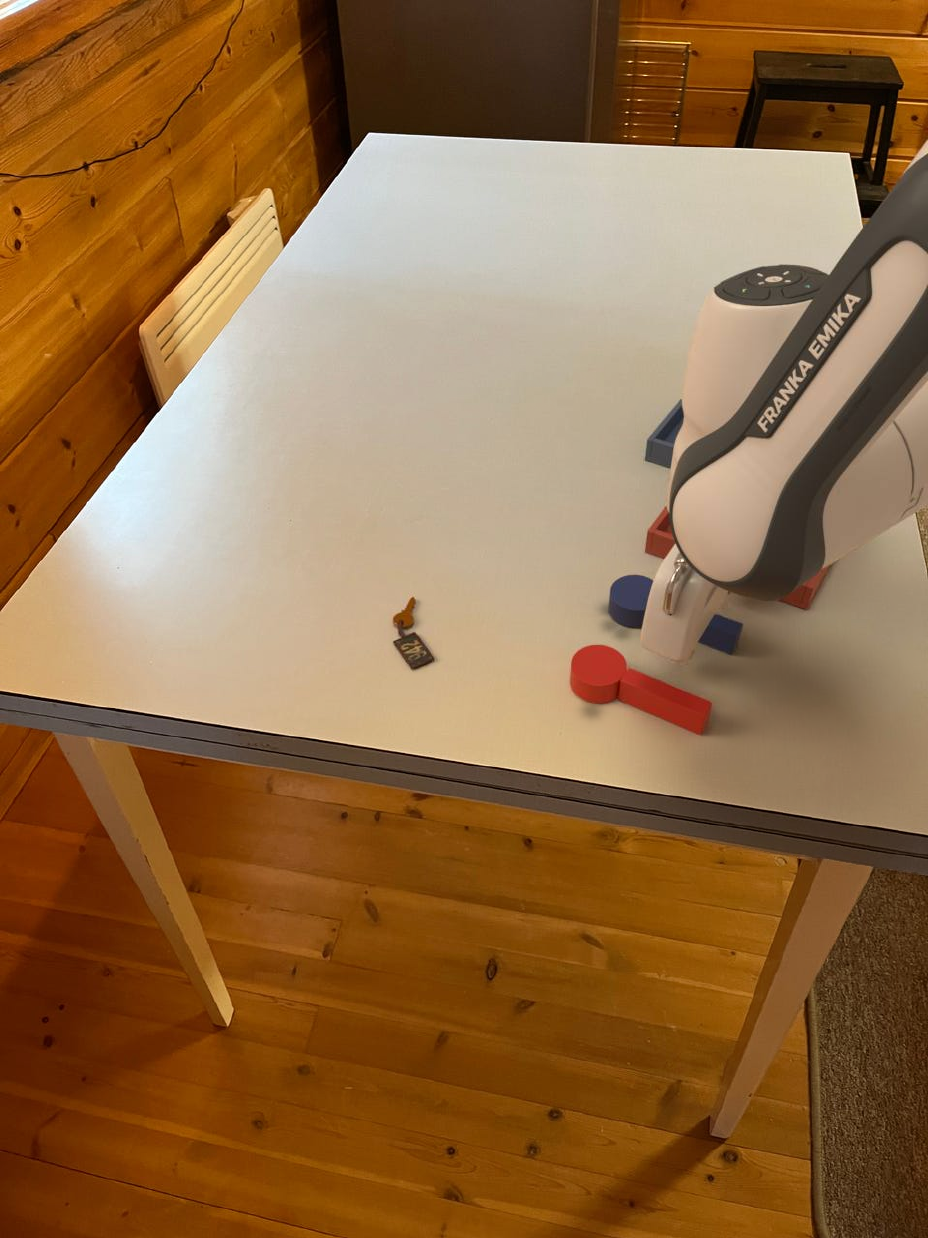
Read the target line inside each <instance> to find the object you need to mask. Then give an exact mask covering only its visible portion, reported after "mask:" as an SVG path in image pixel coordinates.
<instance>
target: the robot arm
mask: <svg viewBox="0 0 928 1238" xmlns="http://www.w3.org/2000/svg"><path fill="white" fill-rule="evenodd" d="M681 398H682V407H683V412H684V421H683V425H682V427H681V429H680V431H679V433H678V435H677V437H676V440H675V444H674V449H673V456H672V463H671V468H670V471H669V478H668V484H667V490H666V497H665V505H667V509H668V512H669V519H670V527H671V531H672V535H673V538H674V541H675V545H674V546H673V548H672V549H671V550H670V552H669V553H668V555H667V556H666V558H665V559H663V560H662V562H661V563H660V565H659V568H658V569H657V571H656V573H655V576H654V578H653V580H654V581H653V583H652V587H651V590H650V594H649V597H648V602H647V606H646V611H645V615H644V620H643V625H642V628H641V630H640V637H639V638H640V640H639V641H640V642H639V643H640V644H641V646H642V647H643V648H644V649H645V650H647V651H649V652H650V653H652V654H654V655H657V656H659V657H661V658H664V659H666V660H667V659H668V660H670V661H671V662H674V663H677V664H679V665H682V666H687V665H688V664H689V662H690V661H691V659H692V657H693V656H694V654H695V653H696V647H697V644H698V643H699V642H698V641H699V639H700V637H701V636H702V634H703V633H704V631H705V629H706V628H707V626H708V624H709V623H710V621H711V620H712V618H713V616H714V615H715V614H717V612H718V609H719V608H720V606H721V605H722V603H723V601H725V599H726V597H727V596H728V595H730V594H731V593H732V594H735V595H737V596H741V597H744V598H748V599H754V600H758V601H763V602H775V601H780V600H779V599H782V598H784V597H786V596H788V595H789V594H790V593H792V592H793V591H795V590H796V589H797V588H799V587H800V586H801V585H803V584H804V583H806V582H807V581H808V580H810V579H811V578H812V577H814V576H815V575H817V574H818V573H819V572H820V570H821V569H823V568H825V567H826V566H828V565H830V564H831V565H832V564H834V563H835V562H837V561H838V560H840V559H842V558H843V557H845V556H847V555H849V554H850V553H852V552H854V551H855V550H857V549H858V548H860V547H862V546H863V545H865V544H867V543H869V542H871V541H872V540H874V539H875V538H878V536H881V535H882V534H883V533H886V532H887V531H888V530H890V529H891V528H893V527H895V526H897V525H898V524H900V523H901V522H904V521H905V520H906V519H908V518H909V517H911V516H913V515H914V514H916V513H918V512H919V511H921V510H922V509H924V508H926V507H928V139H926V141H925V142H924V143H923V145H922V146H921V148H920V149H919V150H918V151H917V153H916V155H915V156H914V158H913V159H911V162H910V163H909V164H908V166H907V168H906V169H905V170H904V172H903V173H902V174H901V176H900V177H899V179H898V180H897V181H896V183H894V185H893V187H892V188H891V189H890V191H889V192H888V193H887V195H886V197H884V199H883V200H882V202H881V203H880V205H879V206H878V208H877V209H876V210H875V212H874V213H873V214H872V216H871V217H869V219H868V221H867V222H866V223H865V225H864V226H863V227H862V228H861V230H860V231H859V232H858V234H857V235H856V237H855V238H854V239H853V240H852V242H851V243H850V244H849V246H848V248H847V249H846V250H845V252H843V254H842V256H841V257H840V258H839V260H838V261H837V263H836V264H835V266H834V267H833V268H832V270H831V272H830V273H829V274H828V273H826V272H825V271H822V270H819V269H818V268H815V267H811V266H806V265H799V264H778V265H777V264H776V265H775V264H774V265H766V266H765V265H762V266H757V267H755V268H751V269H747V270H745V271H743V272H740V273H737V274H735V275H733V276H730V277H728V278H726V279H724V280H722V281H720V282H719V284H717V285H715V286H714V287H712V289H711V290H710V292H709V293H708V295H707V296H706V298H705V300H704V303H703V304H702V306H701V309H700V311H699V314H698V316H697V319H696V322H695V326H694V328H693V332H692V336H691V340H690V345H689V349H688V354H687V360H686V365H685V370H684V377H683V383H682V389H681ZM831 565H830V566H831Z"/></svg>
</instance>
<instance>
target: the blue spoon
mask: <svg viewBox="0 0 928 1238" xmlns="http://www.w3.org/2000/svg"><path fill="white" fill-rule="evenodd" d="M653 581H654V579H652V578H650V577H648V576H645V575H640V574H627V575H623V576H620V577H619V578H617V579H616V580H615V581H614V582H612V583H611V585H610V589H609V597H608V607H607V608H608V609H607V611H608V614H609V616H610V618H611V620H613V621H614V622H616V623H617V624H619V625H620V626H623V627H624V628H625V627H626V628H630V629H642V625H643V620H644V615H645V611H646V606H647V602H648V597H649V594H650V590H651V587H652V583H653ZM743 626H744V623H742V622H739V621H737V620H733V619H731V618H729V617H726V616H723V615H720V614H718V613H715V615H714V616H713V618H712V620H711V621H710V623H709V624H708V626H707V628H706V629H705V631H704V633H703V634H702V636H701V637H700V639H699V641H698V642H697V643H698V644H701V645H704V646H707V647H709V648H711V649H714V650H716V651H720V652H722V653H725V654H726V655H730V656H733V653H734V652H735V650H736V648H737V646H738V645H739V643H740V639H741V635H742V631H743Z"/></svg>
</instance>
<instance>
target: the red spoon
mask: <svg viewBox="0 0 928 1238" xmlns="http://www.w3.org/2000/svg"><path fill="white" fill-rule="evenodd" d="M569 674H570V675H569V684H570V688H571V690H572V691H573V693H574V694H575V695H576V696H577V697H578V698H579V699H581V700H583V701H585V702H588V703H591V704H606V703H611V702H612V701H615V700H616V699H617V700H618V701H620V702H623V703H625V704H627V705H630V706H631V707H634V708H636V709H639V710H641V711H643V712H646V713H648V714H650V715H653V716H654V717H657V718H660V719H662V720H664V721H666V722H668V723H671V724H673V725H675V726H678V727H680V728H682V729H685V730H687V731H689V732H692V733H694V734H695V735H699V736H701V735H702V734H703V732H704V730H705V728H706V726H707V725H708V723H709V721H710V720H709V719H710V715H711V711H712V707H713V702H712V701H710V700H707V699H705V698H703V697H700V696H698V695H695V694H693V693H691V692H688V691H686V690H684V689H681V688H679V687H677V686H674V685H671V684H670V683H667V682H664V681H662V680H660V679H657V678H655V677H652V676H651V675H648V674H645V673H643V672H641V671H638V670H636V669H633V668H631V667H628V665H627V661H626V659H625V657H624V655H623V654H622V653H621V652H620V651H618V649H616V648H613V647H611V646H609V645H605V644H589V645H586V646H584V647H581V648H579V650H577V651H576V652H575V653H574V654H573V656H572V657H571V661H570V673H569Z"/></svg>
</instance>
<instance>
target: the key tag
mask: <svg viewBox="0 0 928 1238" xmlns="http://www.w3.org/2000/svg"><path fill="white" fill-rule="evenodd" d="M416 602H417V600H416V598H415V597H414V596H412V597H410V599H409V601H407V605H406V606H405V608H404V609H401V612H398V613H396V614H395V615H393V617H392V623H393V624H394V625H395V626H397V634H398V635H399V636H400V638H397V639H395V640H393V641H392V644H393V645H394V646H395V647H396V649H397V651H398V652H399V653H400V655H401V656H402V657H403V659H404V661H405V662H406V663H407V665H408V666H409V668H410V669H411V670H414V669H416V668H419V667H421V666H423V665H426V664H427V663H431V662H433V661H434V660H435V657H434V655H433V654H432V653H431V651H430V649H429V648H428V646H426V644H425V643H424V641H423V640H422V638H421V637H420V636H419V635H418V633H416V631H413V632H411V633H409V634H406V633H405V631H404V630H403V628H406V627H409V626H411V625H412V624H413V623H414V620H415V619H414V616H413V615H412V614H413V610H414V608H413V607H415V606H416V605H415V603H416Z"/></svg>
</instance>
